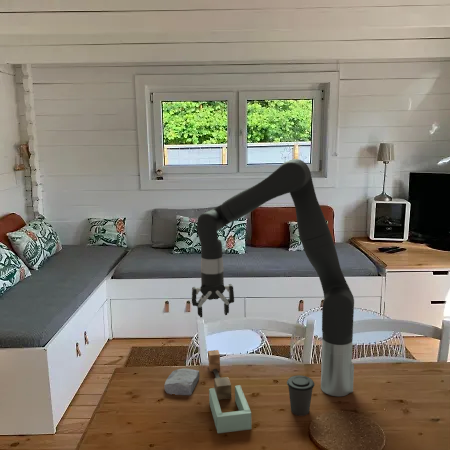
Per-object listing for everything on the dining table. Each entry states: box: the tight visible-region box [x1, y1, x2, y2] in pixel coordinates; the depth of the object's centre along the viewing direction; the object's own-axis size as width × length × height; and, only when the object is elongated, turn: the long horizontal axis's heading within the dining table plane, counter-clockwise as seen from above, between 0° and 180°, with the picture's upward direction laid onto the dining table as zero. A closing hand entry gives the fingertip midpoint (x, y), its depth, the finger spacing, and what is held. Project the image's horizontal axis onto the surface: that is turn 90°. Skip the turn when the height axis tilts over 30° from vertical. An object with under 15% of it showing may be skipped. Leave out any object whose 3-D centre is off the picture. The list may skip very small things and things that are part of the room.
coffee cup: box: [286, 375, 316, 417], centre depth 140 cm, size 8×8×10 cm
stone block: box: [163, 367, 200, 396], centre depth 156 cm, size 12×5×10 cm
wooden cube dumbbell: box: [207, 349, 232, 401], centre depth 157 cm, size 4×21×6 cm, turn 10°
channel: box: [208, 384, 252, 434], centre depth 139 cm, size 10×15×5 cm, turn 10°
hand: (213, 315), depth 163 cm, fingers open, 8 cm apart
